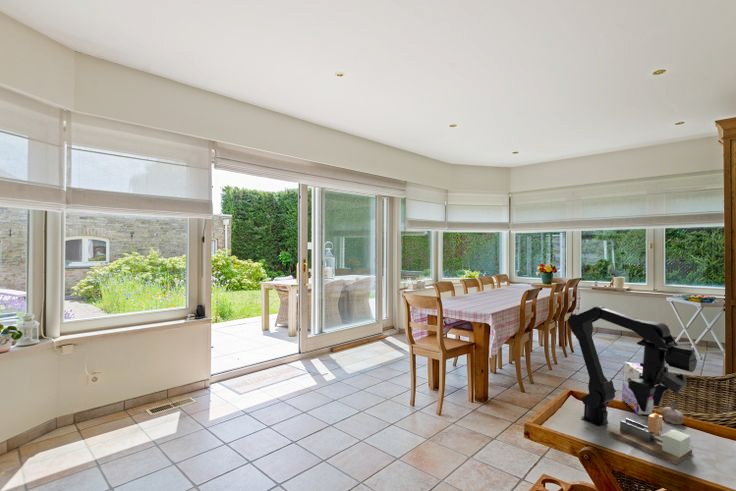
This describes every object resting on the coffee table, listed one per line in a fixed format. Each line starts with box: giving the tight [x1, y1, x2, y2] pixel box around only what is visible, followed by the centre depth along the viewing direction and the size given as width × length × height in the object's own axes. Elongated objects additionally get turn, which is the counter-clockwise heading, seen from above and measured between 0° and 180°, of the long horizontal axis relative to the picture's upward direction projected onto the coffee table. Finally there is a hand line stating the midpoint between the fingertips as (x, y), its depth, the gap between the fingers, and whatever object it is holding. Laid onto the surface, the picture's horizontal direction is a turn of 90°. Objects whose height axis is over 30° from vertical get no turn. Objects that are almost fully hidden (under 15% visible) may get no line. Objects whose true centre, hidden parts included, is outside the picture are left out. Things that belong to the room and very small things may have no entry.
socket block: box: [662, 428, 691, 457], centre depth 121 cm, size 4×7×5 cm, turn 121°
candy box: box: [621, 361, 655, 417], centre depth 154 cm, size 14×6×16 cm, turn 168°
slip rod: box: [643, 412, 664, 443], centre depth 124 cm, size 10×4×8 cm, turn 31°
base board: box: [608, 425, 693, 465], centre depth 127 cm, size 19×12×2 cm, turn 31°
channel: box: [619, 417, 654, 442], centre depth 130 cm, size 9×4×3 cm, turn 31°
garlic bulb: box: [661, 399, 685, 425], centre depth 144 cm, size 8×7×8 cm
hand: (650, 408), depth 127 cm, fingers open, 9 cm apart
